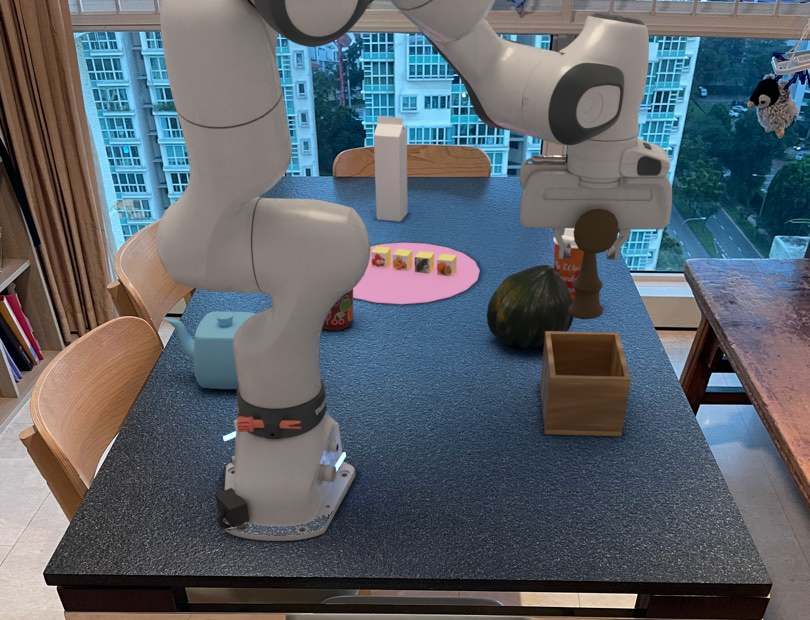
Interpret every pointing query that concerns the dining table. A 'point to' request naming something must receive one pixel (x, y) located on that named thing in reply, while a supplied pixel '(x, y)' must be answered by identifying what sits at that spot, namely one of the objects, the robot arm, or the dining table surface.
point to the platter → (415, 274)
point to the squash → (529, 307)
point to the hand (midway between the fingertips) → (588, 257)
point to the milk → (390, 168)
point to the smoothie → (340, 313)
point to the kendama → (591, 260)
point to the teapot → (213, 348)
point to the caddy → (584, 383)
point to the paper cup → (568, 261)
